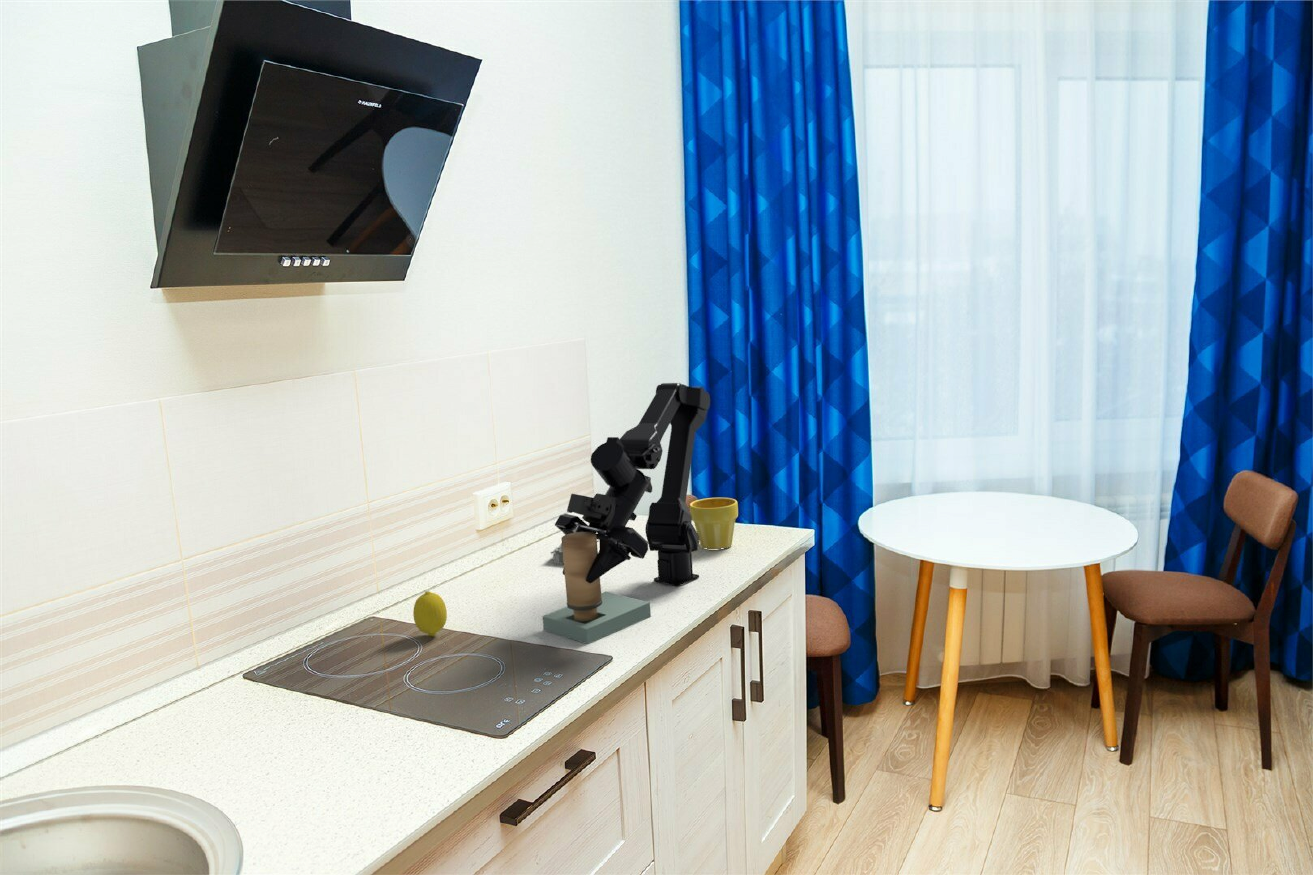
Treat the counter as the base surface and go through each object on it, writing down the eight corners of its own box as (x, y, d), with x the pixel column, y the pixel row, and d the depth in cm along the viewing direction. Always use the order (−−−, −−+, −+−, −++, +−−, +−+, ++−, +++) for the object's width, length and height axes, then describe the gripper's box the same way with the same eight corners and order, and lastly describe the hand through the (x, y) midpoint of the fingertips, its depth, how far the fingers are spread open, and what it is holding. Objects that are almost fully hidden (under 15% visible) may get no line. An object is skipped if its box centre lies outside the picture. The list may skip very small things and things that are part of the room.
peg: (586, 608, 163) (579, 530, 160) (610, 614, 159) (604, 534, 156) (561, 618, 158) (553, 538, 156) (585, 626, 154) (577, 543, 152)
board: (606, 604, 171) (605, 591, 171) (650, 616, 164) (649, 602, 163) (543, 630, 160) (542, 616, 160) (587, 643, 153) (586, 629, 153)
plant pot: (689, 542, 209) (686, 499, 207) (735, 537, 210) (732, 495, 208) (696, 555, 198) (693, 510, 197) (744, 550, 199) (741, 505, 198)
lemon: (440, 642, 158) (435, 596, 157) (410, 642, 159) (405, 596, 158) (454, 630, 163) (449, 586, 162) (424, 629, 164) (419, 586, 163)
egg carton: (574, 550, 209) (572, 532, 209) (603, 553, 206) (602, 534, 205) (547, 564, 200) (546, 545, 199) (578, 566, 196) (576, 547, 196)
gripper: (558, 468, 164) (512, 544, 158) (630, 480, 151) (581, 563, 145) (597, 503, 171) (553, 577, 165) (668, 517, 157) (624, 598, 152)
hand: (576, 578), depth 156 cm, fingers closed on peg, 6 cm apart
